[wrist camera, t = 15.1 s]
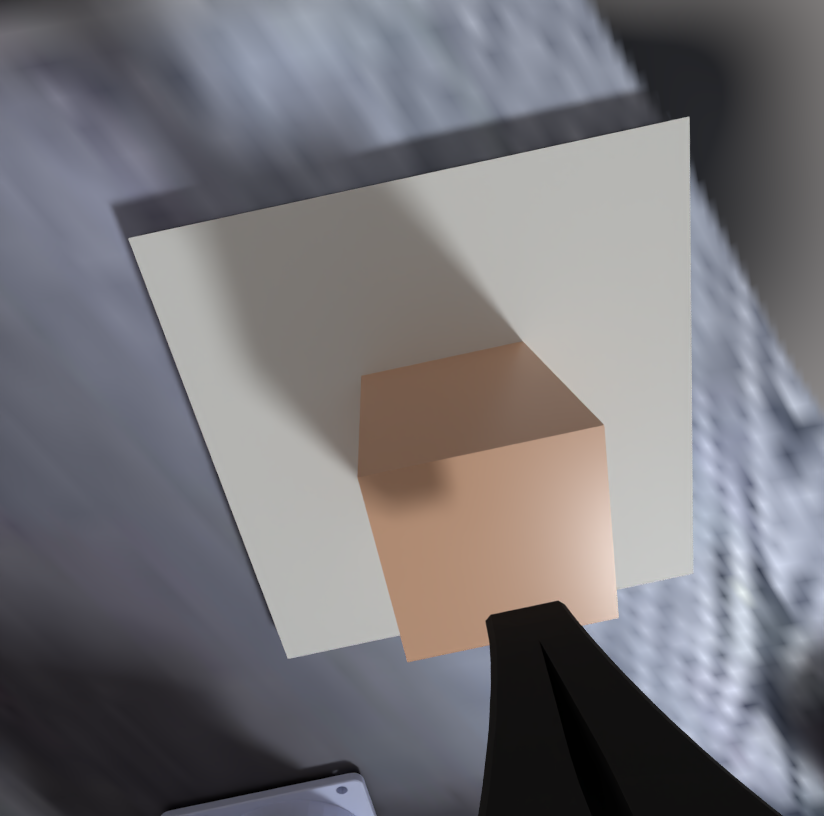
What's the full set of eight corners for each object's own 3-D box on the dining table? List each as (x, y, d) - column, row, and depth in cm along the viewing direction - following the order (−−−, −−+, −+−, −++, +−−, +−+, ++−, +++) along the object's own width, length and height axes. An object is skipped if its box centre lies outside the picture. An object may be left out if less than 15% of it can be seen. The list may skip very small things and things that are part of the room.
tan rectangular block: (395, 513, 20) (407, 662, 14) (361, 375, 18) (357, 477, 12) (540, 482, 20) (618, 617, 14) (522, 341, 18) (604, 425, 12)
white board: (291, 639, 23) (266, 787, 17) (141, 235, 17) (27, 261, 11) (679, 557, 23) (781, 680, 17) (671, 120, 16) (824, 88, 11)
